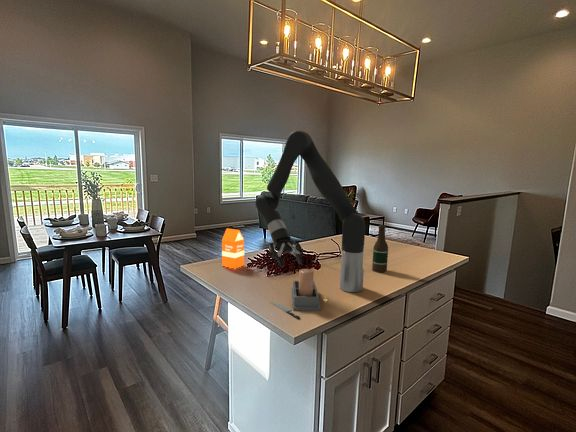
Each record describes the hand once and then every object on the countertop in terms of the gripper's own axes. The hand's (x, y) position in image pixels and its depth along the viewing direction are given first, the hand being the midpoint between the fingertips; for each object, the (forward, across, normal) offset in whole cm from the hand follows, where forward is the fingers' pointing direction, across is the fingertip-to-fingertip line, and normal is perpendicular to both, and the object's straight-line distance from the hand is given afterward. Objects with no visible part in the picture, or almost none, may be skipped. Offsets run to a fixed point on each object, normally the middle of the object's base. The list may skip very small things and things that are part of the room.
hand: (291, 264), depth 126 cm
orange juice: (-24, -7, +42) cm, 49 cm away
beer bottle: (+6, +58, +13) cm, 59 cm away
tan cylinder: (+15, 0, +1) cm, 16 cm away
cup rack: (+14, +2, +4) cm, 14 cm away
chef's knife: (+17, -9, +2) cm, 19 cm away
